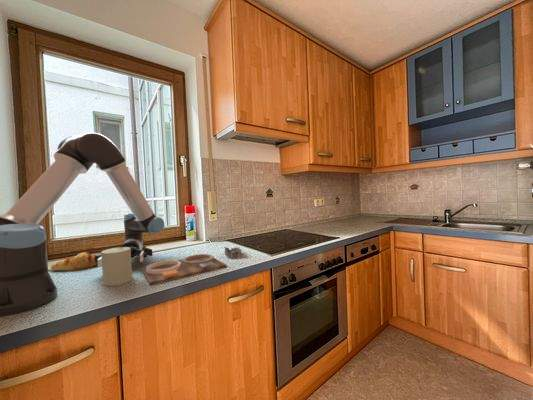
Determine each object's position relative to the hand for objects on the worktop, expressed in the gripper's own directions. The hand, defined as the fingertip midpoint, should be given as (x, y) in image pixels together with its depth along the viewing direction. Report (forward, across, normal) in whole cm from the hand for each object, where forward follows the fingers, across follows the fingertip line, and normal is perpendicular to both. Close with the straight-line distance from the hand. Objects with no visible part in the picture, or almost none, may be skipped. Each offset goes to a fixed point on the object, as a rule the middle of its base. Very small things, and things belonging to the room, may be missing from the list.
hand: (120, 260), depth 87 cm
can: (+2, +1, -7) cm, 7 cm away
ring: (+1, -15, -6) cm, 16 cm away
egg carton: (-11, -45, -7) cm, 47 cm away
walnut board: (-2, -22, -7) cm, 23 cm away
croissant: (-26, +20, -7) cm, 34 cm away
